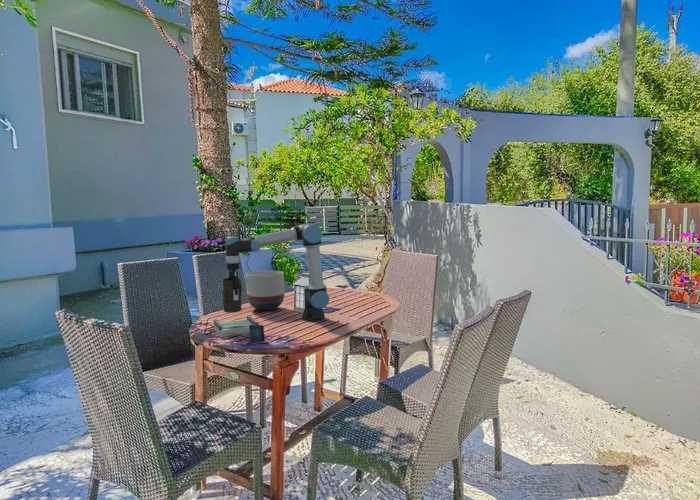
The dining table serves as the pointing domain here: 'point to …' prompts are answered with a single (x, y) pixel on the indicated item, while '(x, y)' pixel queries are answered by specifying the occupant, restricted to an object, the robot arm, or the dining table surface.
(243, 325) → the tray
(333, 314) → the dining table surface
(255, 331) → the flask
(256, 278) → the planter
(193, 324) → the dining table surface
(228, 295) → the beer stein
